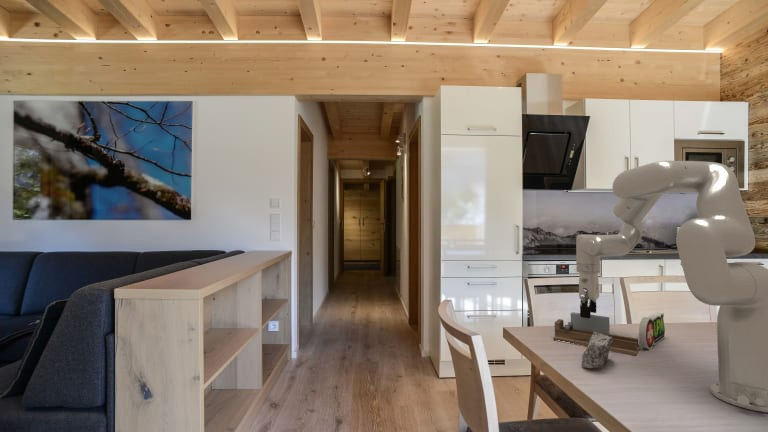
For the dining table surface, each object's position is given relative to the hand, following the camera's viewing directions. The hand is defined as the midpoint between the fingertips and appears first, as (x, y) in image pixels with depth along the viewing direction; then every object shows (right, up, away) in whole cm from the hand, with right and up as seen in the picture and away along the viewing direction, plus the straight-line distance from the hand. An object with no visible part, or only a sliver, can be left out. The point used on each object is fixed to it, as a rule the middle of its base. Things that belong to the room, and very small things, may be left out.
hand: (588, 314), depth 131 cm
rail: (-3, -8, -9) cm, 12 cm away
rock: (-13, -7, -26) cm, 30 cm away
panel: (0, -8, -1) cm, 8 cm away
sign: (+17, -8, -9) cm, 21 cm away
